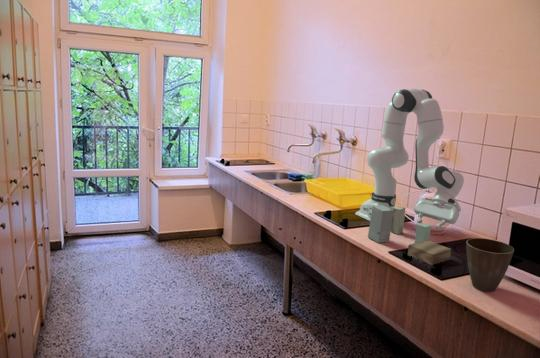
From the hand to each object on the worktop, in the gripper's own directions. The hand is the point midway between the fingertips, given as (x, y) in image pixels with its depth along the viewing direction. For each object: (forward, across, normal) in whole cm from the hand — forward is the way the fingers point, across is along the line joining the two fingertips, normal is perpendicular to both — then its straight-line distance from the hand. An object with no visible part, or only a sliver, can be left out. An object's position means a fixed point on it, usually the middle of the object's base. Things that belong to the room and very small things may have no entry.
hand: (428, 225), depth 189 cm
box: (+6, -16, +6) cm, 18 cm away
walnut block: (+17, +11, -4) cm, 20 cm away
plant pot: (+23, +38, -10) cm, 45 cm away
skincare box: (+17, -14, -5) cm, 23 cm away
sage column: (+8, 0, +4) cm, 9 cm away
